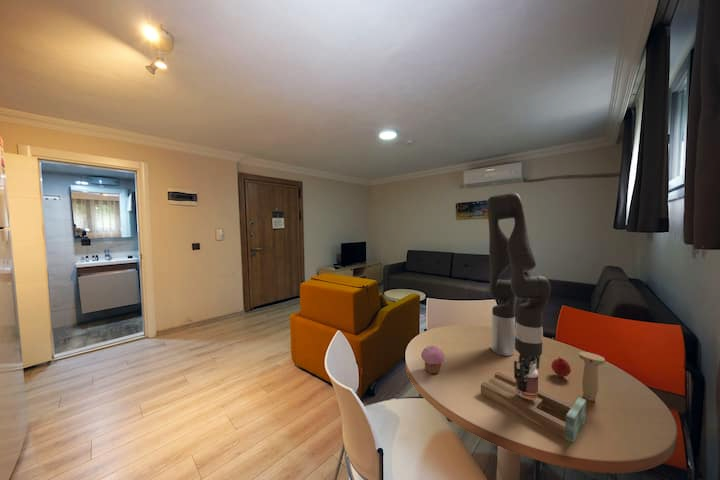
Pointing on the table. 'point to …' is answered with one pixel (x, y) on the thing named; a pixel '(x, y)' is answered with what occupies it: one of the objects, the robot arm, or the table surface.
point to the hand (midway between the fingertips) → (526, 386)
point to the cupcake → (432, 358)
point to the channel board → (537, 406)
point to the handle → (590, 374)
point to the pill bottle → (530, 385)
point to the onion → (561, 367)
